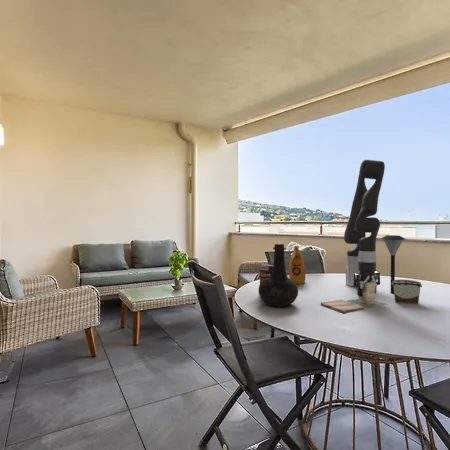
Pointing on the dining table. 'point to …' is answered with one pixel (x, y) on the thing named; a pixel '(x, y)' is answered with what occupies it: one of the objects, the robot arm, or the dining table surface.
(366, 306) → the tile
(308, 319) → the dining table surface
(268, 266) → the supplement box
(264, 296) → the glass bottle
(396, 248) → the solar garden light
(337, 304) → the walnut board
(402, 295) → the food container
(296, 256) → the coffee package
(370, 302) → the birch block
